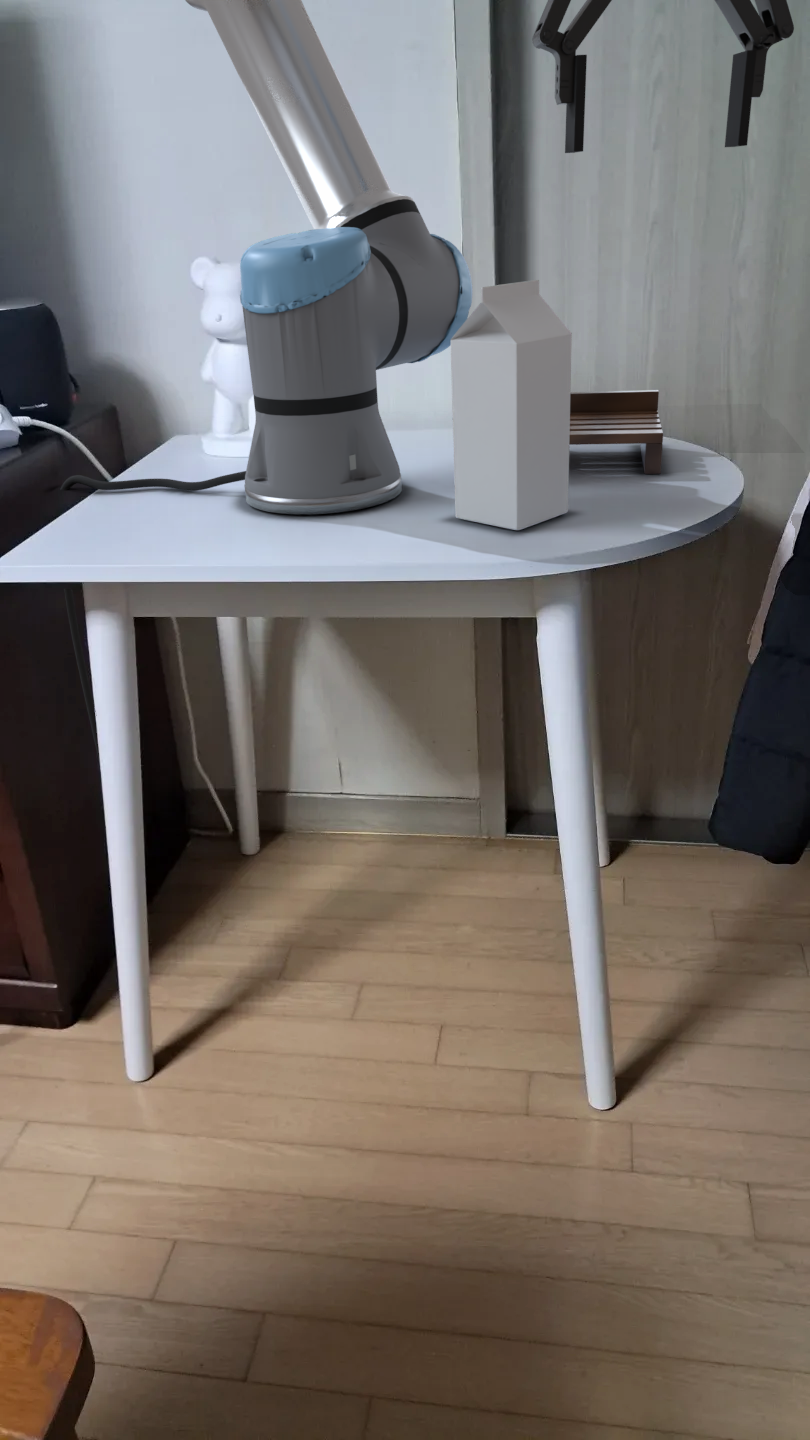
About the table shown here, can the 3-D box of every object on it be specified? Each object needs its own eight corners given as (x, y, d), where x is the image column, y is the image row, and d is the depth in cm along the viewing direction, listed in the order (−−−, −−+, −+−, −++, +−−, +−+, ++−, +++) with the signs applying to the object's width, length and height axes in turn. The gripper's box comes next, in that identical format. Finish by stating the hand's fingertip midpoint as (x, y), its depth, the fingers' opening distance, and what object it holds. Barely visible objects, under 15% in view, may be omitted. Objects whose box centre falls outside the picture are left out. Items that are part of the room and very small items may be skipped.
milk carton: (568, 514, 91) (573, 280, 82) (517, 533, 86) (517, 287, 78) (506, 502, 95) (504, 279, 87) (454, 519, 91) (447, 286, 82)
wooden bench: (528, 475, 104) (529, 414, 102) (536, 448, 116) (536, 392, 113) (660, 474, 102) (664, 411, 99) (655, 446, 113) (658, 389, 111)
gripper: (519, -206, 70) (515, 152, 79) (869, -206, 72) (823, 141, 82) (496, -170, 76) (495, 156, 86) (817, -172, 79) (781, 146, 88)
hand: (655, 150), depth 84 cm, fingers open, 13 cm apart
